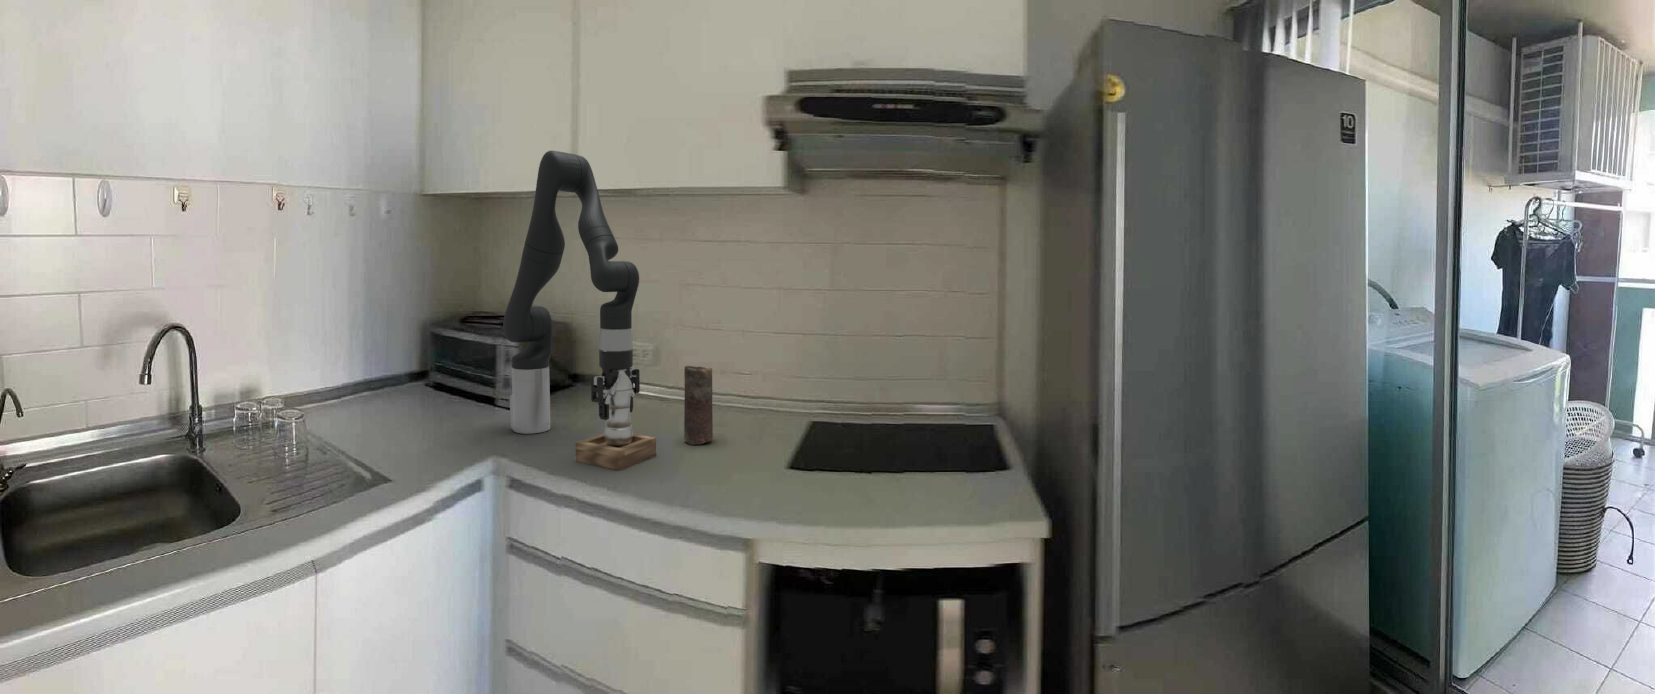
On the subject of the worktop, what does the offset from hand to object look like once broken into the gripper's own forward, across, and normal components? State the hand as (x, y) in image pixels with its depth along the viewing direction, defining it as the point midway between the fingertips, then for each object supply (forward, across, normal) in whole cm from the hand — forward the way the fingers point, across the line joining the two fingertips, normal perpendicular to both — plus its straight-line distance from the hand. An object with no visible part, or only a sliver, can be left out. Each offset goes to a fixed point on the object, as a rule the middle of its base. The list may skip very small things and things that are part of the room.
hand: (616, 415), depth 165 cm
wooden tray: (+10, 0, 0) cm, 10 cm away
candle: (+11, -22, +8) cm, 26 cm away
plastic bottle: (+8, -1, 0) cm, 8 cm away
